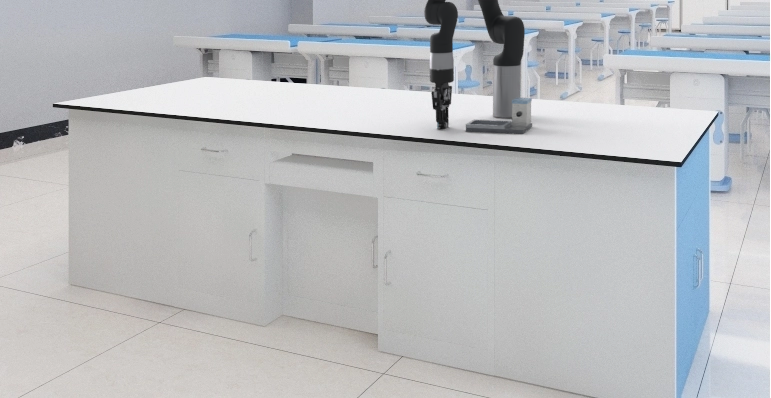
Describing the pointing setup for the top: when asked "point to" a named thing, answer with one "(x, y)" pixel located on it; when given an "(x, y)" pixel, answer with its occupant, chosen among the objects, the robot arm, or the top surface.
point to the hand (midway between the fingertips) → (442, 120)
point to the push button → (444, 116)
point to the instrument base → (516, 126)
